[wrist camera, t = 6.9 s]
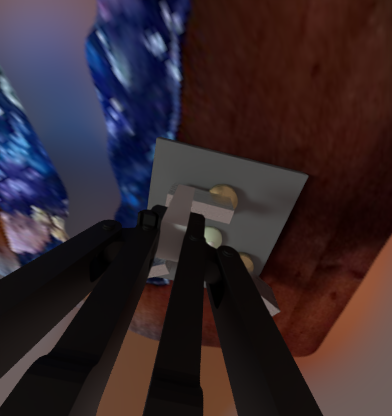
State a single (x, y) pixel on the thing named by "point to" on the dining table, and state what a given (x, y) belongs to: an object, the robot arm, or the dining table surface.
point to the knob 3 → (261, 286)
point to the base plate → (245, 190)
